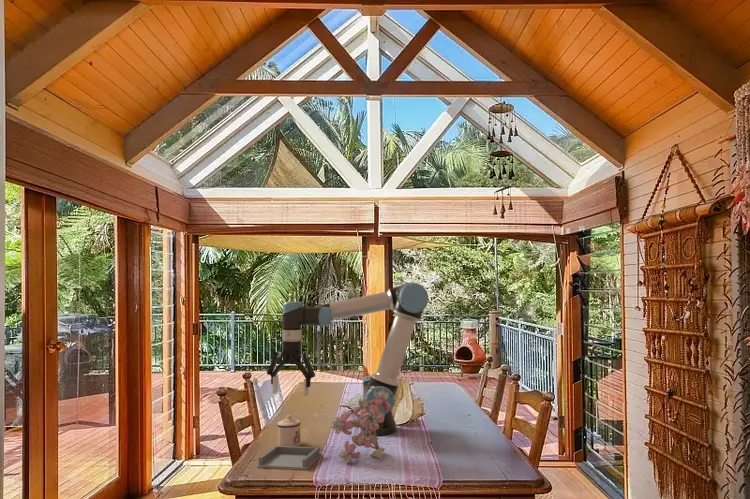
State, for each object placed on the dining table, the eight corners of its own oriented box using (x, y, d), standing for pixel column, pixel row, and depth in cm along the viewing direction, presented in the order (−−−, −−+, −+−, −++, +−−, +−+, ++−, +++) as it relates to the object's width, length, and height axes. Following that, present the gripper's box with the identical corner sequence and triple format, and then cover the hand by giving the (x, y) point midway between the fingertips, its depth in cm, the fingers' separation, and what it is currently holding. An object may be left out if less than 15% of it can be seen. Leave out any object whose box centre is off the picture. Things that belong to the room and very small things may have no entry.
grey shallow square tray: (321, 455, 207) (321, 446, 208) (306, 469, 192) (305, 460, 192) (276, 453, 212) (276, 444, 212) (257, 467, 196) (257, 458, 196)
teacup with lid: (298, 449, 216) (297, 418, 216) (275, 449, 217) (274, 418, 217) (304, 440, 228) (303, 411, 228) (282, 440, 228) (281, 411, 229)
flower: (338, 442, 217) (327, 389, 208) (396, 435, 217) (387, 381, 207) (336, 482, 199) (324, 426, 189) (399, 474, 198) (390, 418, 189)
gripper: (259, 339, 226) (257, 393, 225) (316, 342, 218) (315, 398, 217) (268, 338, 233) (267, 390, 232) (324, 341, 225) (323, 394, 224)
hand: (290, 394), depth 224 cm, fingers open, 13 cm apart
